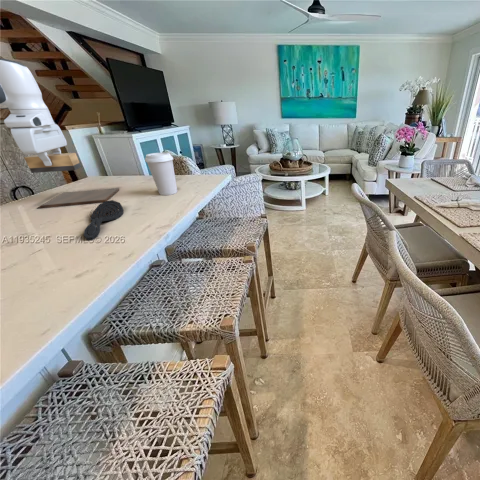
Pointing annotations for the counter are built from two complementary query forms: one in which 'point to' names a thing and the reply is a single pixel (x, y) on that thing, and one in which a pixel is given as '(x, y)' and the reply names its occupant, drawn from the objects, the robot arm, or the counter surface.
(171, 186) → the coffee cup
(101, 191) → the walnut board
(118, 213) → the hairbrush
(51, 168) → the scrub brush
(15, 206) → the counter surface
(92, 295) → the counter surface
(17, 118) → the robot arm
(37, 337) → the counter surface
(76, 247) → the counter surface
